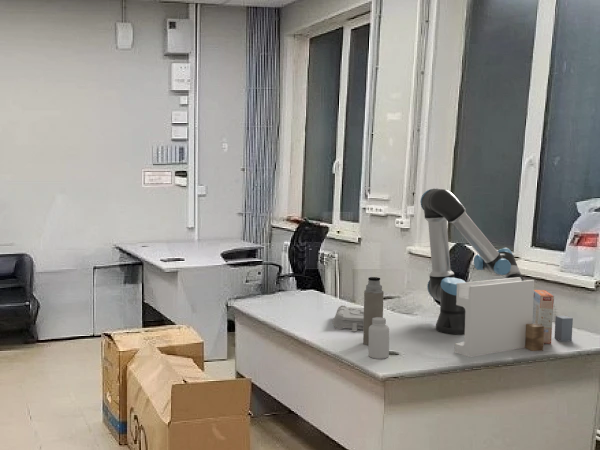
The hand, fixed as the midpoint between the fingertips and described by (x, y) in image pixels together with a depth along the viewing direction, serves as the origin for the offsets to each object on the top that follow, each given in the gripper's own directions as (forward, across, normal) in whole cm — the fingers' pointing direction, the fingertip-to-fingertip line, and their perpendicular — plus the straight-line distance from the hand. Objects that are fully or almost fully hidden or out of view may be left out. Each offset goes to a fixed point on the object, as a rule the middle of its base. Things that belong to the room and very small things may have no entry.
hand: (530, 320), depth 275 cm
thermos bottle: (+9, +75, -1) cm, 76 cm away
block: (+19, +28, +9) cm, 35 cm away
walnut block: (+20, +11, +11) cm, 25 cm away
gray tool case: (-14, +74, -24) cm, 79 cm away
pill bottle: (+21, +78, +12) cm, 82 cm away
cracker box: (+11, 0, +1) cm, 11 cm away
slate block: (+11, -10, +2) cm, 15 cm away
